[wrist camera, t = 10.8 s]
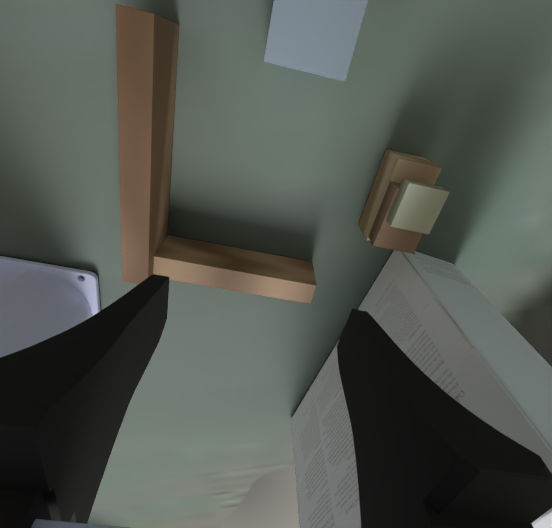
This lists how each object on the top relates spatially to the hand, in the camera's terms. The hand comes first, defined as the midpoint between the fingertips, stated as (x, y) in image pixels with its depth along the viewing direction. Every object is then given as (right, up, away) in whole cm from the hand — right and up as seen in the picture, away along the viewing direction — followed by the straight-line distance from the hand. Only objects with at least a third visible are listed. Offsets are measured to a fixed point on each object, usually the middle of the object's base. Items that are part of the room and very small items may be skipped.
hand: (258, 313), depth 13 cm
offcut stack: (+8, +6, +8) cm, 13 cm away
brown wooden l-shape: (-1, +8, +8) cm, 11 cm away
